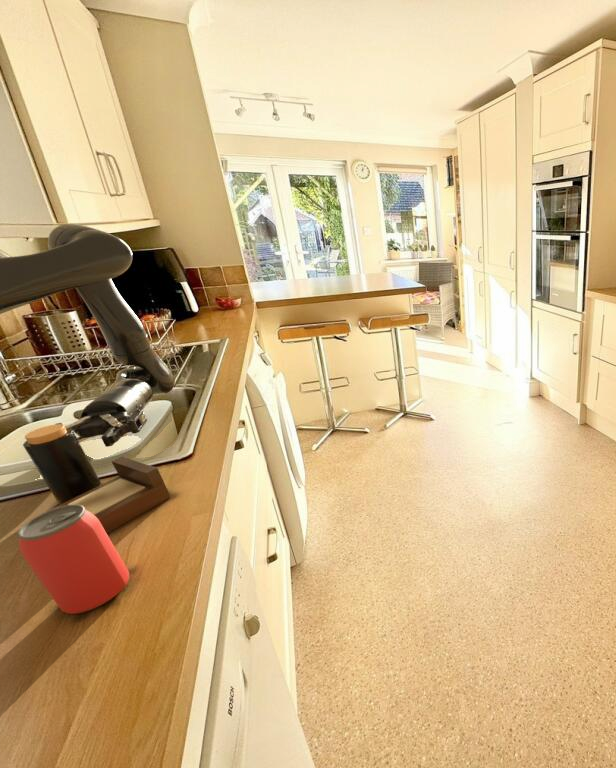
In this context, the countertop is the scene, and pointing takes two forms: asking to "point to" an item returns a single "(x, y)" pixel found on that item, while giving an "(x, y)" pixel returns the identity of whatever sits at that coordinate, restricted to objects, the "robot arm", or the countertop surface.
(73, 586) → the beer can
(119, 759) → the countertop surface
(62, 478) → the black canister
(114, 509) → the brown wooden stand
